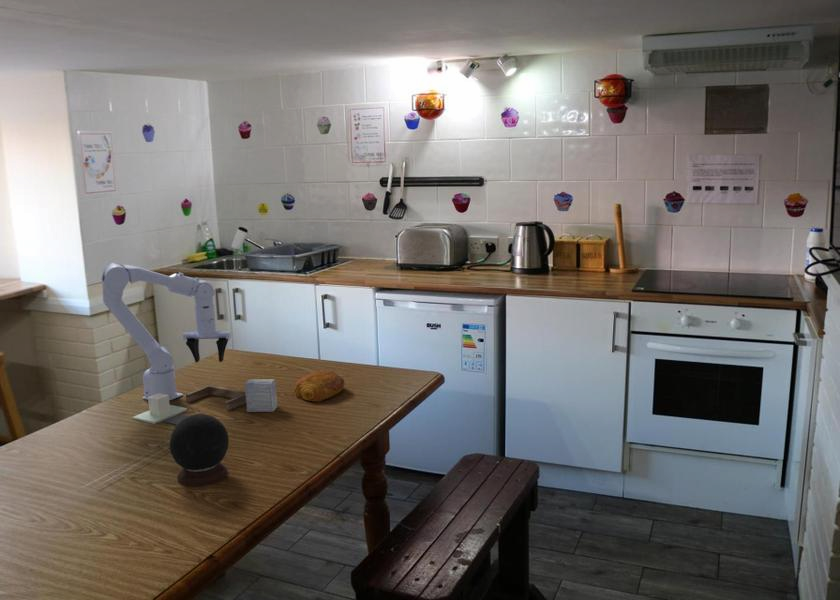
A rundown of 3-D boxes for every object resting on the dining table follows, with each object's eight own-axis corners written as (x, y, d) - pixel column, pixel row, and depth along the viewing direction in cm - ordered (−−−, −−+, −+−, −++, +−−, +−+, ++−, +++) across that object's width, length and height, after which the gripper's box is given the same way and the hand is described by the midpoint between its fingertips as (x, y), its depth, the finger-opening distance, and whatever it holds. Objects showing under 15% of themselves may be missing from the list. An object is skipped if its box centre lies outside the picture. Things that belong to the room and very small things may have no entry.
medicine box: (277, 407, 221) (275, 378, 219) (273, 412, 216) (271, 383, 214) (251, 406, 221) (249, 378, 220) (246, 412, 217) (244, 383, 215)
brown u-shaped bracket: (186, 402, 227) (185, 394, 227) (209, 392, 235) (209, 385, 235) (228, 410, 219) (227, 402, 218) (250, 400, 227) (250, 392, 226)
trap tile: (163, 422, 211) (163, 421, 211) (180, 415, 216) (180, 414, 216) (179, 425, 208) (178, 424, 208) (195, 418, 213) (195, 417, 213)
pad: (132, 419, 215) (132, 417, 214) (165, 405, 225) (165, 403, 225) (154, 424, 210) (154, 422, 210) (187, 410, 220) (186, 408, 220)
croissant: (352, 397, 234) (354, 372, 233) (319, 405, 221) (321, 379, 220) (317, 388, 242) (318, 364, 241) (283, 396, 228) (284, 370, 228)
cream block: (149, 413, 216) (147, 397, 215) (160, 409, 220) (158, 393, 219) (159, 415, 215) (157, 399, 214) (170, 411, 218) (168, 394, 217)
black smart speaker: (243, 469, 179) (237, 409, 176) (206, 493, 167) (200, 429, 164) (199, 461, 184) (193, 403, 181) (160, 483, 173) (153, 422, 170)
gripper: (177, 322, 230) (182, 365, 233) (224, 321, 229) (228, 364, 232) (186, 317, 237) (190, 358, 240) (231, 316, 236) (235, 358, 239)
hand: (209, 361), depth 236 cm, fingers open, 7 cm apart
